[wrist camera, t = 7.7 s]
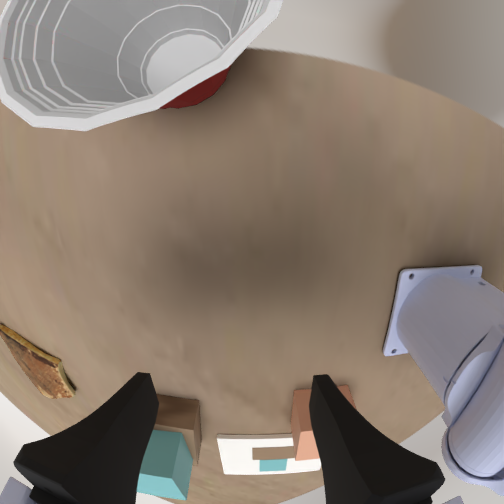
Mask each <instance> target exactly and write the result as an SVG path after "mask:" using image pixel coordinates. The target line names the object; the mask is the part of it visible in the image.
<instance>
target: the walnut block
mask: <svg viewBox="0 0 504 504" xmlns="http://www.w3.org/2000/svg"><path fill="white" fill-rule="evenodd" d="M156 395H157V398H158V401H159V408H158V413H157V418H156V422H155V425H154V428H153V430H160V431H169V432H180V433H182V434H183V437H184V439H185V442H186V444H187V447H188V449H189V451H190V454H191V456H192V458H193V463H192V465H193V466H198V460H199V453H200V447H201V440H202V438H201V423H200V407H199V400H192V399H185V398H178V397H172V396H166V395H160V394H156Z"/></svg>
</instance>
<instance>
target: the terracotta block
mask: <svg viewBox="0 0 504 504" xmlns="http://www.w3.org/2000/svg"><path fill="white" fill-rule="evenodd" d="M337 387H338V389H339V390H340V391H341V393H342V394H343V395H344V396H345V398H346V399H347V400H348V401H349V402H350V403H351V404H352V406H353V407H354V408H355V409H356V407H355V404H354V401H353V398H352V396H351V393H350V390H349V388H348V385H343V386H337ZM310 395H311V389H303V390H294V397H293V407H292V415H291V429H292V437H293V446H294V454H295V461H301V460H311V459H319V458H320V457H319V453H318V449H317V446H316V442H315V438H314V434H313V430H312V426H311V420H310V412H309V401H310ZM356 410H357V409H356Z"/></svg>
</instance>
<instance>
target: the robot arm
mask: <svg viewBox="0 0 504 504" xmlns="http://www.w3.org/2000/svg"><path fill="white" fill-rule="evenodd" d="M471 270H472V271H471ZM470 272H471V273H470ZM410 274H412V276H411V277H410V278H409V275H410ZM481 274H482V267H481V266H479V265H470V266H454V267H436V268H417V269H404V270H402V271H401V272H400V274H399V279H398V284H397V290H396V295H395V300H394V305H393V310H392V315H391V319H390V324H389V328H388V332H387V336H386V340H385V344H384V348H383V354H384V355H385V356H392V355H398V354H404V353H409V354H410V355H411V356H412V358H413V359H414V361H415V362H416V364H417V365H418V367H419V368H420V369H421V371H422V372H423V374H424V375H425V377H426V378H427V380H428V381H429V383H430V384H431V386H432V387H433V389H434V390H435V392H436V393H437V395H438V396H439V398H440V399H441V401H442V402H443V404H444V406H445V411H444V413H443V415H442V418H443V420H444V422H445V423H446V425H447V427H448V428H447V429H446V431H445V433H444V436H443V438H442V446H441V448H442V454H443V458H444V460H445V463H446V465H447V466H448V468H449V469H450V470H451V472H452V473H453V474H454V475H455V476H457V477H458V478H459V479H461V480H463V481H465V482H468V483H471V484H476V485H482V486H486V487H488V488H490V489H492V490H493V491H494V492H496V493H497V494H498V495H500V496H504V293H503V292H502V291H500V290H499V289H497V288H496V287H494V286H493V285H491V284H490V283H488V282H487V281H485V280H484V279H482V278H481ZM393 349H394V350H393ZM392 350H393V351H392ZM158 408H159V401H158V398H157V395H156V392H155V389H154V385H153V382H152V379H151V375H150V373H141V372H137V373H136V374H135V375H134V376H133V377H132V378H131V379H130V380H129V381H128V382H127V383H126V384H125V385H124V386H123V387H122V388H121V389H120V390H119V391H118V392H116V393H115V394H114V395H113V396H112V397H111V398H110V399H109V400H108V401H107V402H105V403H104V404H103V405H102V406H101V407H99V408H98V409H97V410H96V411H94V412H93V413H92V414H90V415H89V416H88V417H86V418H84V419H83V420H81V421H80V422H78V423H77V424H75V425H73V426H71V427H69V428H67V429H66V430H64V431H62V432H60V433H57V434H55V435H53V436H50V437H48V438H45V439H42V440H39V441H35V442H31V443H28V444H24V445H23V447H22V448H21V450H20V452H19V453H18V455H17V457H16V459H15V461H14V466H15V467H16V469H17V470H18V471H19V472H20V473H21V474H22V475H23V476H24V477H25V478H26V479H27V480H28V481H29V482H31V483H32V484H33V485H34V487H33V489H32V490H31V489H30V488H29V487H27V486H26V485H24V484H22V483H21V482H19V481H18V480H16V479H14V478H13V477H10V478H9V480H8V482H7V484H6V486H5V487H4V489H3V491H2V493H1V496H0V504H135V502H136V493H137V486H138V480H139V474H140V469H141V464H142V461H143V457H144V454H145V451H146V449H147V446H148V443H149V440H150V437H151V434H152V431H153V428H154V425H155V422H156V418H157V413H158ZM309 412H310V420H311V426H312V430H313V434H314V438H315V442H316V446H317V449H318V453H319V457H320V461H321V465H322V470H323V478H324V486H325V494H326V504H432V499H431V495H432V494H434V493H435V492H436V491H437V490H438V489H439V488H440V487H441V485H443V483H444V481H445V478H444V476H443V473H442V471H441V469H440V467H439V466H438V464H437V463H436V462H434V461H431V460H429V459H426V458H424V457H421V456H419V455H417V454H415V453H412V452H410V451H409V450H407V449H405V448H403V447H402V446H400V445H398V444H397V443H395V442H394V441H392V440H390V439H389V438H388V437H386V436H385V435H384V434H382V433H381V432H380V431H378V430H377V429H376V428H375V427H374V426H372V425H371V424H370V423H369V422H368V421H367V420H366V419H365V418H364V417H363V416H362V415H361V414H360V413H359V412H358V411H357V410H356V409H355V408H354V407H353V406H352V404H351V403H350V402H349V401H348V400H347V399H346V398H345V396H344V395H343V394H342V393H341V391H340V390H339V389H338V387H337V386H336V385H335V383H334V382H333V381H332V379H331V378H330V376H329V375H327V374H325V375H314V376H313V383H312V389H311V395H310V401H309ZM443 504H464V503H463V501H462V499H461V497H460V496H457V497H455V498H453V499H451V500H449V501H447V502H445V503H443Z"/></svg>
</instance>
